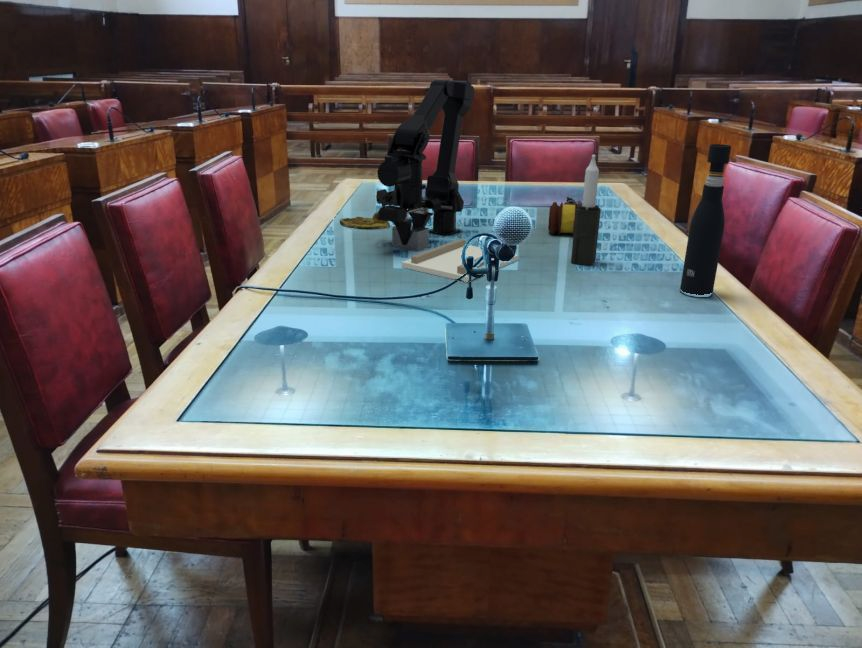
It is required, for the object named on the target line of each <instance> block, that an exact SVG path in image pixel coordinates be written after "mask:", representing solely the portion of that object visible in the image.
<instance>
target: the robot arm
mask: <svg viewBox="0 0 862 648" xmlns="http://www.w3.org/2000/svg"><path fill="white" fill-rule="evenodd" d="M474 97H475V87H474V86H473V85H472V84H471V82H470V81H469V80H453V79H452V80H450V79H434V80H432V81H431V82H430V85H429V89H428V91H427V92H426V94H425V95H424V97H423V99H422V101H420V104H419V105H418V107H417V108H416V110H415V112H414V113H413V115H412V116H411V117H410V118H408V119H407V118H406V119H405V120H404V121H402V122H401V124H400V125H399V126H398V127H397V128H396V130H395V132H394V134H393V136H392V138H391V139H392V140H391V142H390V144H389V147H388V151H387V153H386V156H384V162H382V163H380V165H379V166H378V169H377V172H376V173H377V178H378V180H379V183H380V184H382V185H383V186H384V187H387V188H388V187H393V189H394V190H391V191H388V190H387V189H380V190H377V191H376V197H375V200H376V202H377V204H378V205H381V207H380V208H379V209H377V212H378V219H380V220H385V221H388V222H389V223H390V222H392V223H393V224H394V226H396V229H397V231H398V234H399V237H400V240H401V243H402V245H406V244H407V241H408V238H409V233H410V229H411V225H414V226H419V227H425V228H426V225H427V224H428V222H429V220H430V219H431V217H432V228H431V229H429V233H433V234H439V235H445V236H449V235H452V234H457V233H459V232H461V229H460V228H456V227H457V213H461V212H462V210H463V208H464V203H465V202H464V201H465V200H464V199H463V198H462V195H461V194H460V192H459V185H460V184H459V182H458V178H457V176H456V174H455V173H456V165H457V157H458V152H459V146H460V139H461V132H462V125H463V119H464V117H465V116H466V114H467V113H468V112H469V110H471V107H472V103H473V99H474ZM441 110H442V111H443V122H442V129H441V135H440V143H439V148H438V153H437V154H438V156H437V162H436V169H435V171H434V172H433V173H432V175H428V176H427V179H426V184H424V183H423V161H426V160H427V155H425V154H424V152H425V150H426V148H427V146H428V143H429V141H430V138H431V134H430V130H431V129H430V128H431V127H432V125H433V124H434V122H435V120H436V118H437V117H438V116H439V113H440V112H441ZM423 190H425V191H424V195H423ZM429 210H432V211H433V212H429ZM409 216H410V217H409Z"/></svg>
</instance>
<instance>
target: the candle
mask: <svg viewBox="0 0 862 648" xmlns="http://www.w3.org/2000/svg"><path fill="white" fill-rule="evenodd" d="M596 157H597V156H596V155H595V154H592V155H591V160H590V163H589V164H588V166H587V167H586V169H585V173H584V183H583V184H584V185H583V193H582V195H583V196H582V203H581V204H580V205H579V206H578V208H577V209H576V213H575V224H574V235H573V234H572V247H571V257H570V258H571V259H570V263H571V264H573V265H581V266H586V267H591V266H593V265H594V264H595V263H596V260H597V259H596V258H597V257H596V256H597V249H598V239H599V229H600V220H601V213H602V212H601V211H602V209H601V208H600V206H599V205H596V204H597V194H598V193H597V192H598V183H599V173H600V170H599V167H598V166H597V161H596Z"/></svg>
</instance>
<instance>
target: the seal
mask: <svg viewBox="0 0 862 648" xmlns="http://www.w3.org/2000/svg"><path fill="white" fill-rule="evenodd" d="M339 223H340V224H341V226H342V227H345V228H347V229H352V228H354V229H353V230H355V229H356V230H365V231H366V230H371V231H372V230H375V231H376V230H384V229H385V230H386V229H390V228H391V227H390V226H391V225H390V224H391V223H390V221H385V220H380V219H378V211H377V212H374V214H373V215H372V217H362V216H356V217H352V218H350V217H346V218H345V217H344V218H341V219H339Z"/></svg>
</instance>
